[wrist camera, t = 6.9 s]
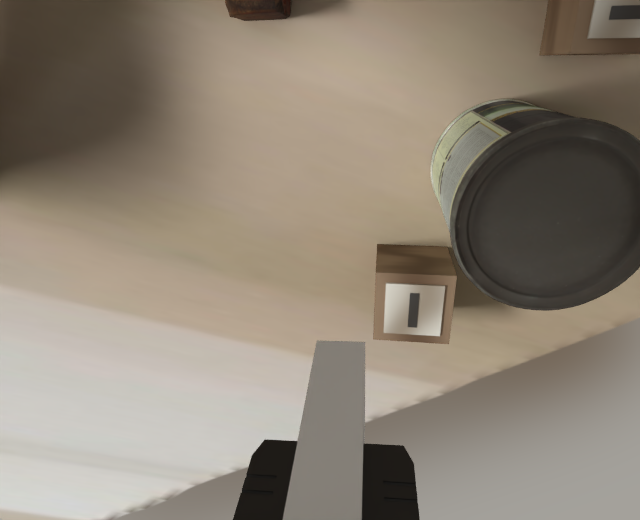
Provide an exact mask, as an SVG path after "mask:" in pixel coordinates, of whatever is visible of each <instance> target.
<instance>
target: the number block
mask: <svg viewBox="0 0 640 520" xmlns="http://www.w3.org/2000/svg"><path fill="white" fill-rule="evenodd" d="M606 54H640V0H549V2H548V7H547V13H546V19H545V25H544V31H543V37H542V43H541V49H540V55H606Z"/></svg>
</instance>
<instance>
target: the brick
mask: <svg viewBox="0 0 640 520" xmlns="http://www.w3.org/2000/svg"><path fill="white" fill-rule="evenodd" d="M225 3H226V7H227V9H228V12H229V15H230V17H234V18H238V19H241V20H244V21H252V20H274V19H286V18H288V17H289V16H290V11H291V0H225Z"/></svg>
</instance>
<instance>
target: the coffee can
mask: <svg viewBox="0 0 640 520" xmlns="http://www.w3.org/2000/svg"><path fill="white" fill-rule="evenodd" d="M431 182H432V186H433V190H434V192H435V195H436V197H437V199H438V201H439V203H440V206H441V209H442V212H443V215H444V217H445V220H446V223H447V226H448V229H449V231H450V237H451V243H452V247H453V250H454V254H455V257H456V259H457V261H458V264H459V266H460V267H461V269H462V271H463V272H464V274H465V275H466V276H467V278H468V279H469V280H470V281H471V282H472V283H473V284H474V285H475V286H476V287H477V288H478V289H480V290H481V291H482V292H483V293H485V294H486V295H488V296H490V297H491V298H493V299H495V300H497V301H500V302H502V303H505V304H507V305H510V306H514V307H518V308H523V309H531V310H559V309H565V308H570V307H575V306H578V305H581V304H584V303H587V302H589V301H592V300H594V299H596V298H598V297H600V296H602V295H604V294H606V293H608V292H609V291H611V290H613V289H614V288H616V287H618V286H619V285H620V284H622V283H623V282H625V281H626V280H627V279H628V278H629V277H630V276H631V275H632V274H634V273H635V272H636V271H637V270H638V268H639V267H640V141H639V140H638V139H637V138H636V137H634V136H633V135H631V134H630V133H628V132H626V131H624V130H622V129H620V128H618V127H616V126H614V125H611V124H608V123H606V122H601V121H597V120H592V119H586V118H577V117H573V116H569V115H566V114H562V113H558V112H555V111H552V110H548V109H544V108H541V107H537V106H535V105H533V104H530V103H528V102H525V101H520V100H513V99H499V100H492V101H488V102H485V103H482V104H479V105H476V106H474V107H472V108H470V109H468V110H466V111H465V112H463V113H462V114H461V115H459V116H458V117H457V118H456V119H455V120H454V121H452V123H451V124H450V125H449V126H448V127H447V128H446V129H445V131H444V132H443V134H442V135H441V137H440V138H439V140H438V142H437V144H436V147H435V149H434V151H433V155H432V161H431Z"/></svg>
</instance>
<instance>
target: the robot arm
mask: <svg viewBox="0 0 640 520" xmlns="http://www.w3.org/2000/svg"><path fill="white" fill-rule="evenodd" d="M364 425H365V342H347V341H317V342H316V348H315V353H314V358H313V363H312V369H311V374H310V379H309V384H308V390H307V395H306V400H305V405H304V410H303V416H302V421H301V426H300V431H299V437H298V441H282V440H264V441H263V443H262V444H261V445H260V446H259V447H258V449H257V450H256V451H255V452H254V454H253V455H252V458H251V461H250V464H249V468H248V471H247V477H246V478H245V481H244V485H243V488H242V493H241V495H240V498H239V502H238V505H237V508H236V511H235V515H234V518H233V520H419V510H418V503H417V491H416V482H415V472H414V464H413V461H412V460H411V458H410V456H409V454H408V453H407V451H406V449H405V448H404V446H400V445H380V444H364V431H365V426H364Z"/></svg>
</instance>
